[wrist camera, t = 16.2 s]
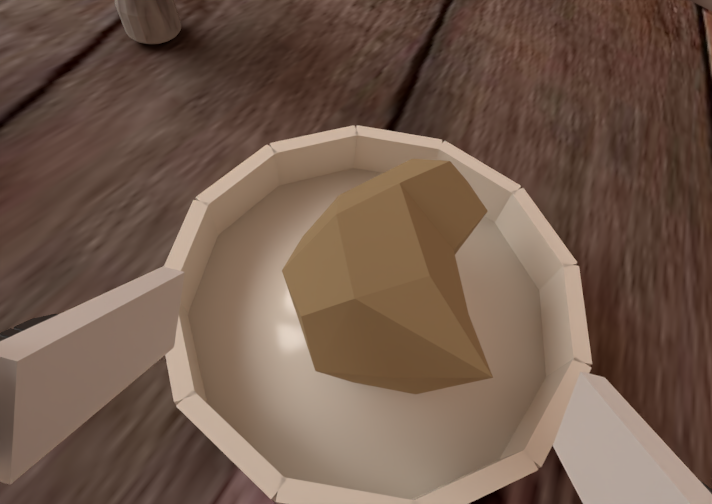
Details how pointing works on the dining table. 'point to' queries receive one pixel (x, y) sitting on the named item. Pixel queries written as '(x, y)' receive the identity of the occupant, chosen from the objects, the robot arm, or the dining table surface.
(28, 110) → the dining table surface
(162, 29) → the decorative mushroom
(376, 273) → the low-poly potato
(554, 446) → the robot arm
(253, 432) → the cream bowl
